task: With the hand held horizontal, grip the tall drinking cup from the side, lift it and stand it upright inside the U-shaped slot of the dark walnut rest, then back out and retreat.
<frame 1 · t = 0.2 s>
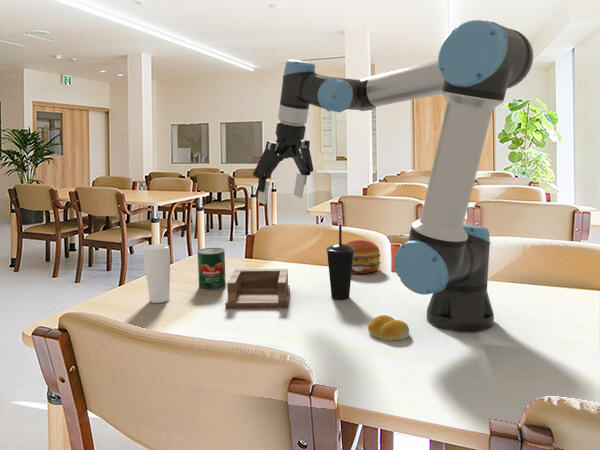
hand: (280, 199, 143), 26 cm above the table, tool tilted 15°, fingers open, 13 cm apart
walnut rest: (259, 298, 142), on the table
drinking glass: (159, 301, 142), on the table
canned tomato: (212, 287, 154), on the table
burger: (359, 271, 171), on the table
bread roll: (388, 335, 116), on the table
drinking cup: (340, 297, 143), on the table
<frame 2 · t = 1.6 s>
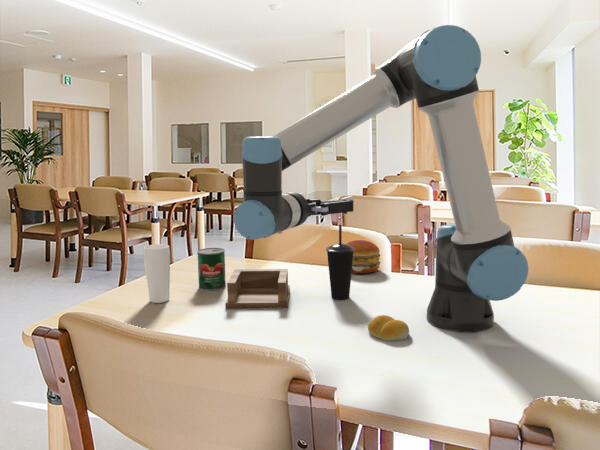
hand: (325, 200, 130), 28 cm above the table, tool horizontal, fingers open, 13 cm apart
nothing on the table moved.
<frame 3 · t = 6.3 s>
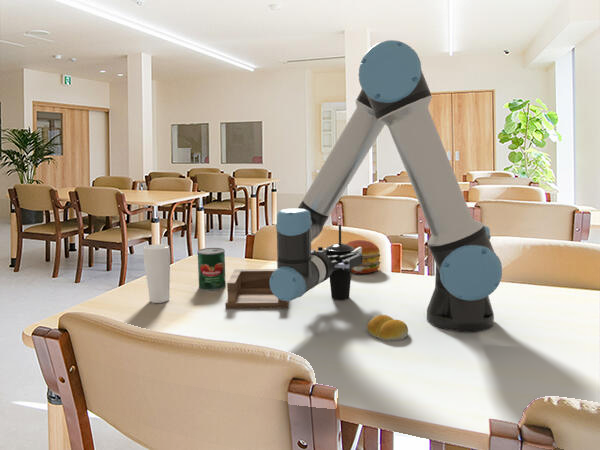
hand: (346, 250, 145), 12 cm above the table, tool horizontal, fingers closed on drinking cup, 7 cm apart
drinking cup: (340, 297, 143), on the table, touching gripper
everything else where it was.
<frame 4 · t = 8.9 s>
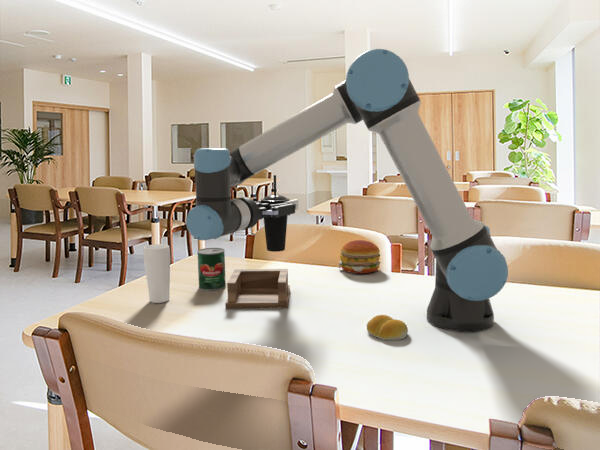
hand: (283, 203, 143), 25 cm above the table, tool horizontal, fingers closed on drinking cup, 7 cm apart
drinking cup: (275, 250, 141), point 13 cm above the table, touching gripper
everything else where it was.
when the fingers open (15 cm above the table, at t = 11.4 s): drinking cup drops 1 cm, resting on walnut rest.
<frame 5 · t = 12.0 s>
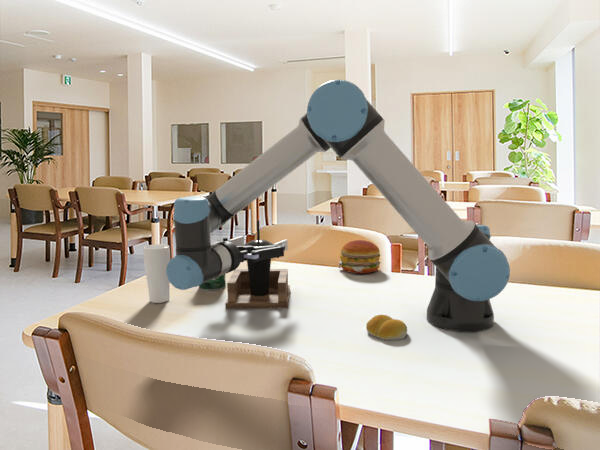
hand: (264, 242, 143), 15 cm above the table, tool horizontal, fingers open, 13 cm apart
drinking cup: (259, 294, 142), point 1 cm above the table, touching walnut rest
everything else where it was.
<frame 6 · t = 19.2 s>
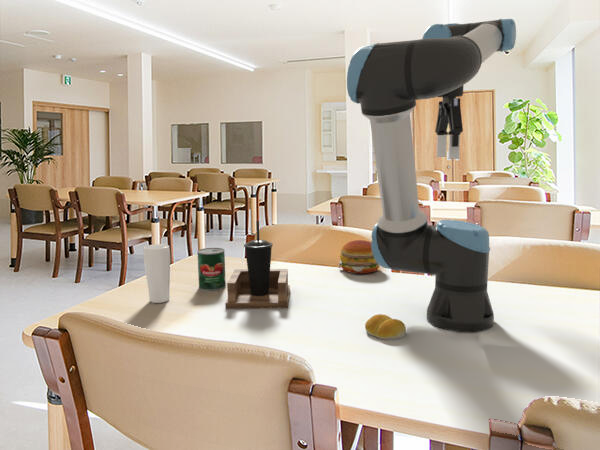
hand: (447, 158, 152), 37 cm above the table, tool pointing down, fingers open, 13 cm apart
nothing on the table moved.
at the end: drinking cup inside the target area on the walnut rest (0.1 cm from its centre), point 1.3 cm above the walnut rest's base; drinking cup tilted 0°; the gripper is holding nothing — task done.
